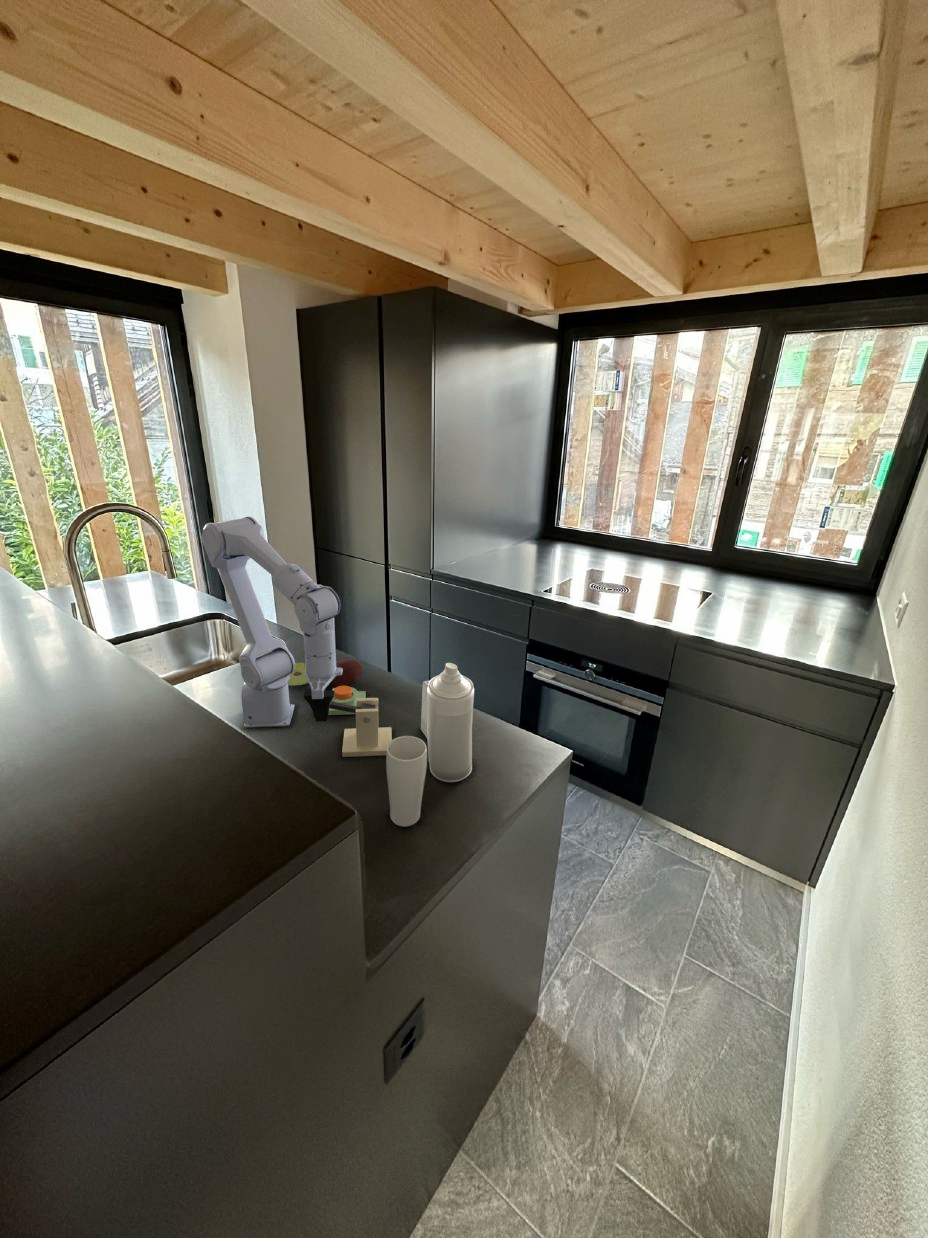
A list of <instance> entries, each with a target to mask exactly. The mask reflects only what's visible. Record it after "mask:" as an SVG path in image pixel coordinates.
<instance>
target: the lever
mask: <svg viewBox="0 0 928 1238" xmlns="http://www.w3.org/2000/svg"><path fill="white" fill-rule="evenodd" d="M375 707H376V706H375V705H370V704H365V703H362V705H361V707H357V706H352V705H347V704H341V703H336V702H331V703H330V706H329V708H330V709H336V710H341V711H346V712H351V713H356V709H375Z"/></svg>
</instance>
